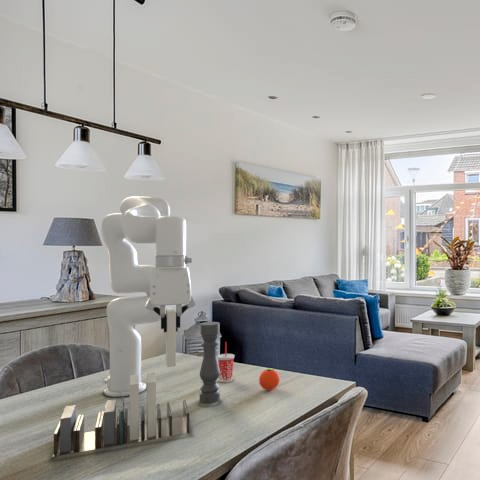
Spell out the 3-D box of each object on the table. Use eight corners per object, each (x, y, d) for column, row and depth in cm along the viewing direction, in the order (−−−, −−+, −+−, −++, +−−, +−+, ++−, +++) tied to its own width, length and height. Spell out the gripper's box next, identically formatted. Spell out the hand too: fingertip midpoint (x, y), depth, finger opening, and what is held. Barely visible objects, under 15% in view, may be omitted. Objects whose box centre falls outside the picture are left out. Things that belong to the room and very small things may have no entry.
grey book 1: (59, 452, 106) (60, 418, 106) (65, 437, 114) (65, 406, 114) (70, 451, 107) (71, 417, 107) (75, 436, 115) (75, 404, 115)
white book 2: (147, 437, 114) (147, 382, 114) (146, 424, 122) (146, 373, 122) (155, 436, 115) (156, 381, 115) (154, 423, 123) (155, 372, 123)
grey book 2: (103, 445, 110) (103, 412, 110) (106, 431, 118) (106, 400, 118) (114, 443, 111) (114, 411, 111) (115, 429, 119) (115, 399, 119)
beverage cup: (219, 384, 160) (219, 344, 160) (214, 379, 165) (215, 341, 165) (236, 381, 163) (236, 342, 163) (231, 376, 168) (231, 339, 168)
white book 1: (129, 440, 112) (129, 384, 112) (130, 427, 120) (130, 375, 120) (138, 439, 113) (138, 383, 113) (138, 426, 121) (138, 374, 121)
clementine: (264, 384, 159) (264, 364, 159) (283, 385, 158) (283, 365, 158) (255, 392, 152) (255, 371, 152) (275, 393, 150) (275, 372, 150)
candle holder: (213, 407, 138) (214, 325, 138) (195, 405, 139) (195, 324, 139) (223, 400, 144) (224, 322, 144) (206, 398, 145) (206, 321, 145)
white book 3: (167, 367, 116) (167, 313, 116) (165, 358, 124) (165, 308, 124) (175, 366, 117) (175, 312, 117) (173, 358, 125) (173, 307, 125)
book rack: (52, 461, 104) (52, 422, 104) (60, 440, 115) (60, 405, 115) (190, 436, 117) (190, 402, 117) (185, 419, 128) (185, 388, 128)
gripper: (200, 261, 128) (200, 326, 128) (137, 262, 121) (137, 331, 121) (203, 262, 121) (203, 331, 121) (137, 263, 114) (137, 336, 114)
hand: (170, 330), depth 121 cm, fingers closed on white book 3, 2 cm apart
